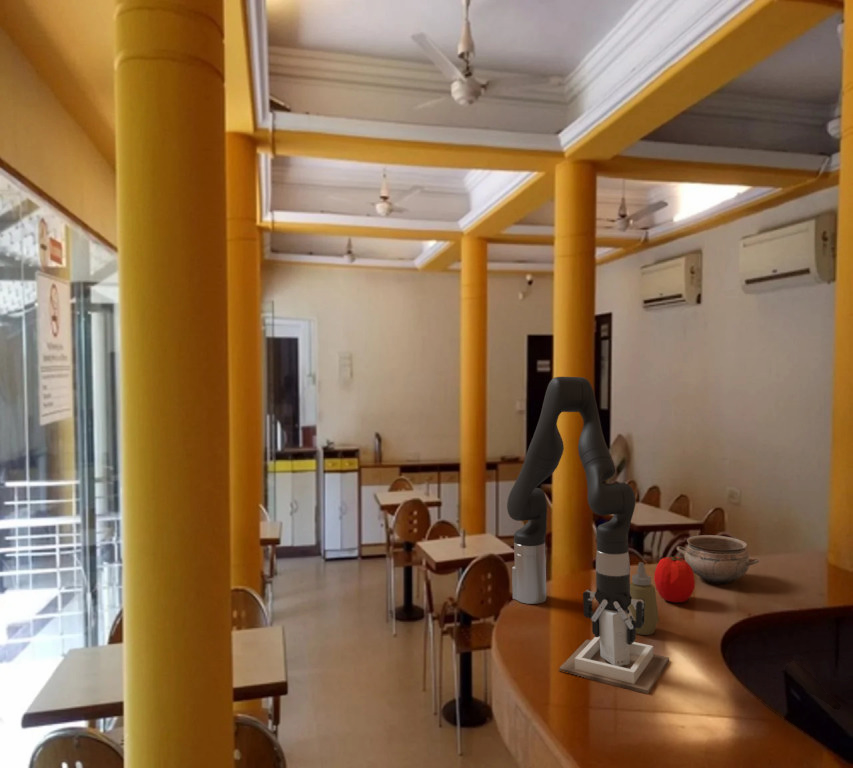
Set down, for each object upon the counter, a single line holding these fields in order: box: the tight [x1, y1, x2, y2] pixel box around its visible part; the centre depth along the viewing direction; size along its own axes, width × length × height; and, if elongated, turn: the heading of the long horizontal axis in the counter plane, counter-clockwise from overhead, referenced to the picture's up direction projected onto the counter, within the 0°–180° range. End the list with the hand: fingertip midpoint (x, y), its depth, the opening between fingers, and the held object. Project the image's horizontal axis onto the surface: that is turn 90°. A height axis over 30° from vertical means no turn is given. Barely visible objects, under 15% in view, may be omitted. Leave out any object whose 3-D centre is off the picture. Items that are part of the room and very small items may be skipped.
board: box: [558, 639, 670, 695], centre depth 150 cm, size 20×18×1 cm
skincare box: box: [599, 609, 630, 666], centre depth 150 cm, size 6×4×12 cm
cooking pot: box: [676, 534, 760, 585], centre depth 207 cm, size 25×19×12 cm
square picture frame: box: [575, 636, 654, 684], centre depth 150 cm, size 13×15×2 cm
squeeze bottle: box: [629, 561, 660, 636], centre depth 169 cm, size 8×8×18 cm
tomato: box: [653, 555, 696, 603], centre depth 190 cm, size 12×12×13 cm
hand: (613, 639), depth 150 cm, fingers closed on skincare box, 7 cm apart
